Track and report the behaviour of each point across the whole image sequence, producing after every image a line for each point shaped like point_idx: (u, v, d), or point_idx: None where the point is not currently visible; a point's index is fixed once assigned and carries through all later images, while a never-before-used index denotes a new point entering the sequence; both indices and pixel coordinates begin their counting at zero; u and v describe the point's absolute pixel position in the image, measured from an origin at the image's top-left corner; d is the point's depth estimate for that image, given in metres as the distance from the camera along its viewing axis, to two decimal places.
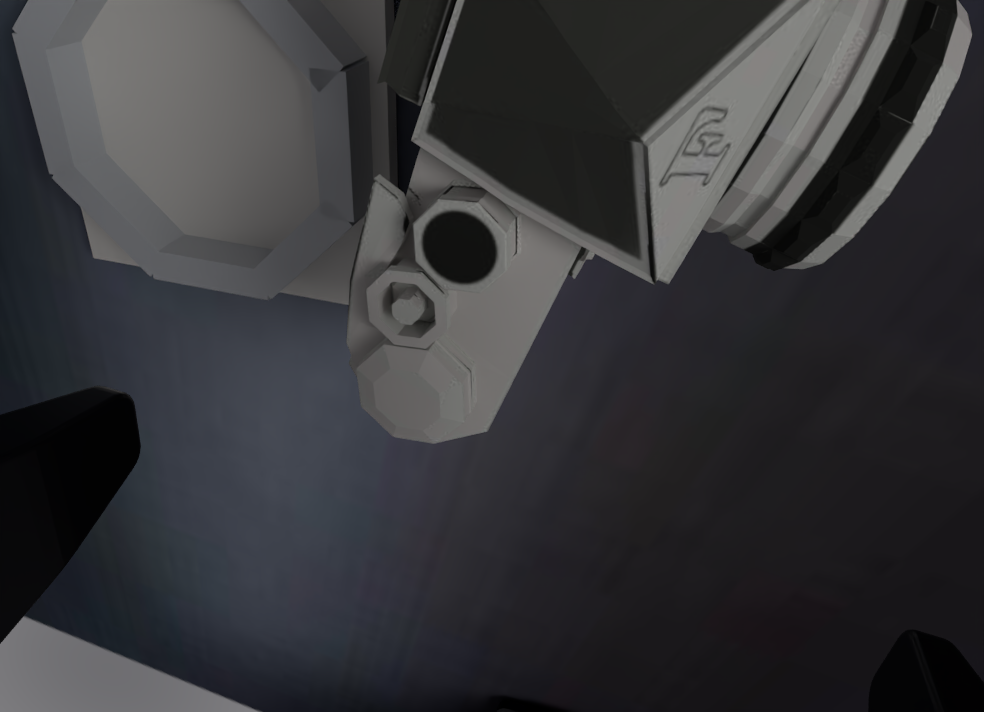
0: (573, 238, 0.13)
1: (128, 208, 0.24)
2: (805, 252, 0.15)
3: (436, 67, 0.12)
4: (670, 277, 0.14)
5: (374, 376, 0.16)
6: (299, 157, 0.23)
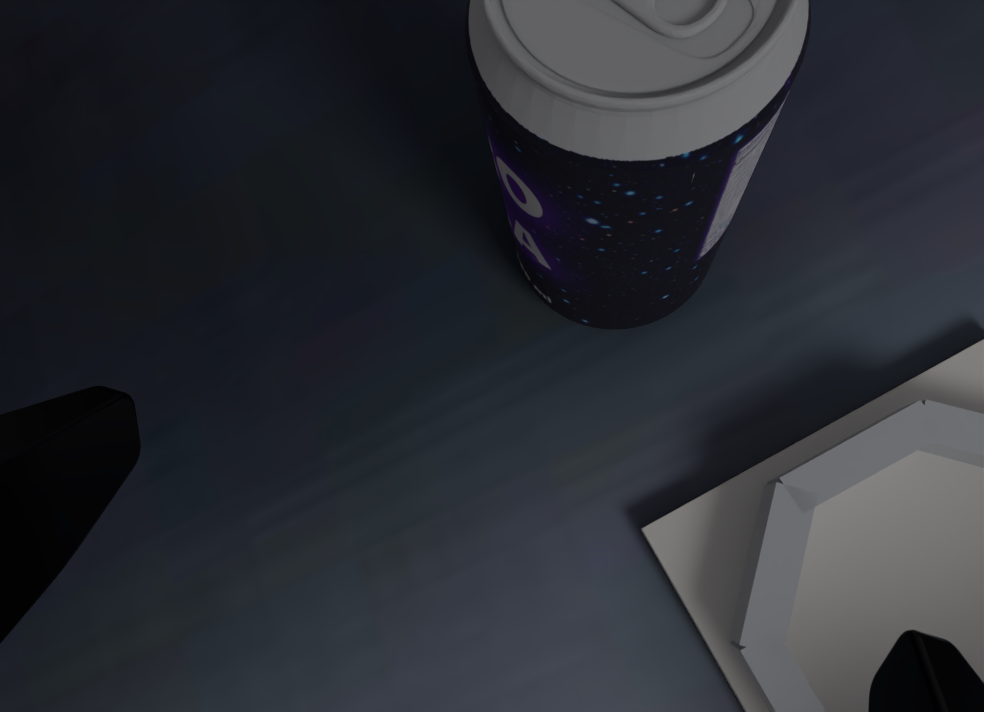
0: None
1: None
2: None
3: None
4: None
5: None
6: None
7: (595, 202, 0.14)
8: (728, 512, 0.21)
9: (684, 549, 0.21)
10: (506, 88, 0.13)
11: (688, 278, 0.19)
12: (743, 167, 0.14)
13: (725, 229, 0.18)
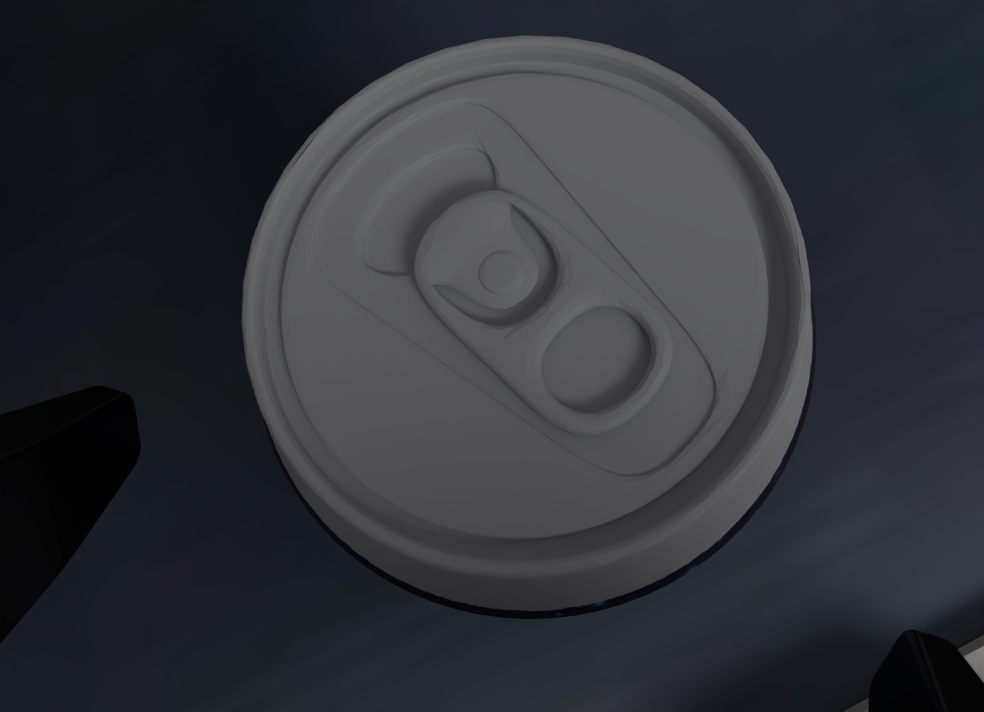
0: None
1: None
2: None
3: None
4: None
5: None
6: None
7: None
8: None
9: None
10: None
11: None
12: None
13: None
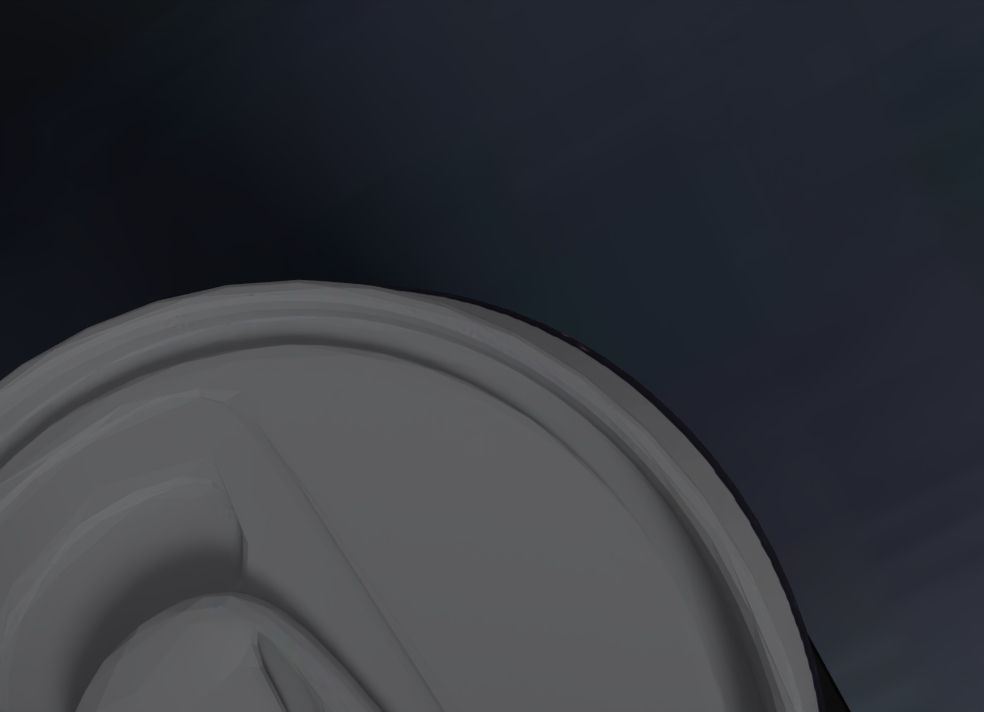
0: None
1: None
2: None
3: None
4: None
5: None
6: None
7: None
8: None
9: None
10: None
11: None
12: None
13: None
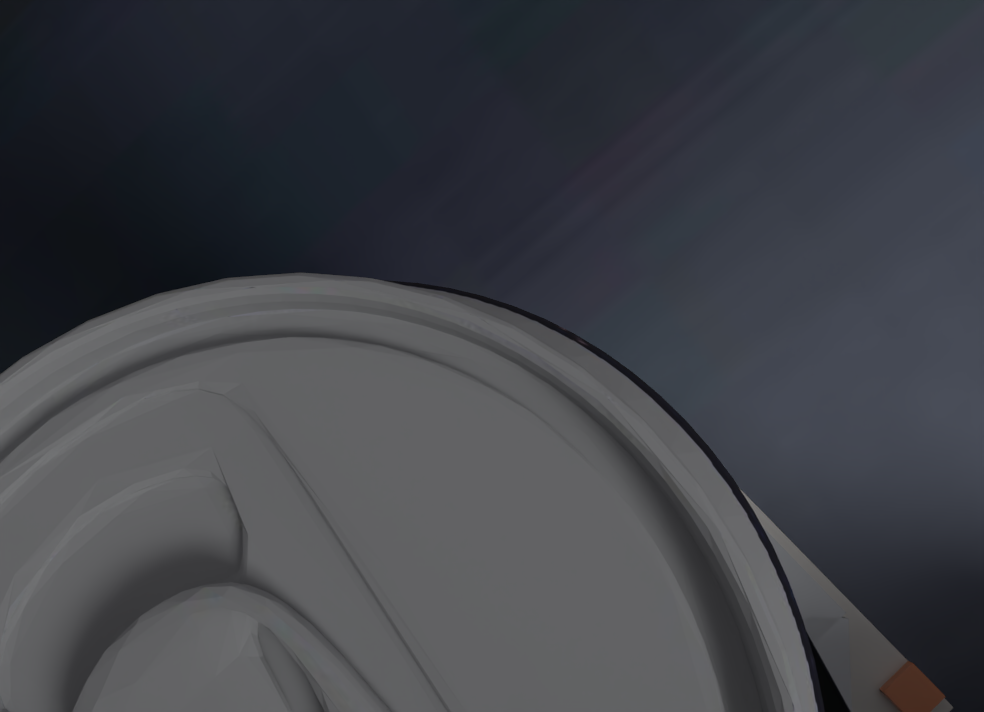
0: None
1: None
2: None
3: None
4: None
5: None
6: None
7: None
8: None
9: None
10: None
11: None
12: None
13: None
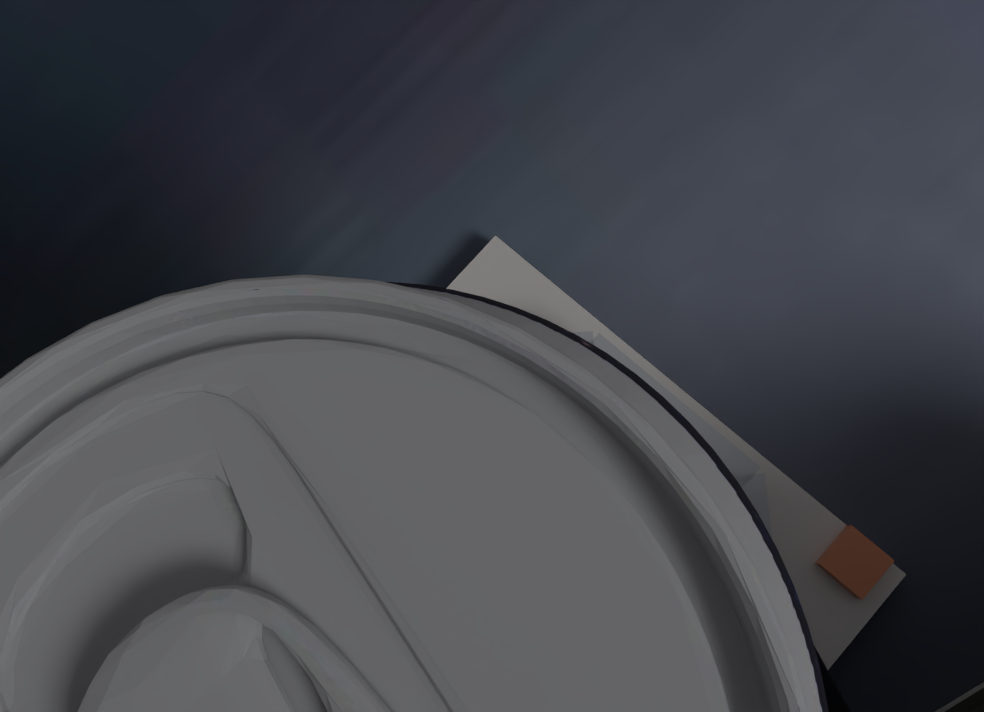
0: None
1: None
2: None
3: None
4: None
5: None
6: None
7: None
8: None
9: None
10: None
11: None
12: None
13: None
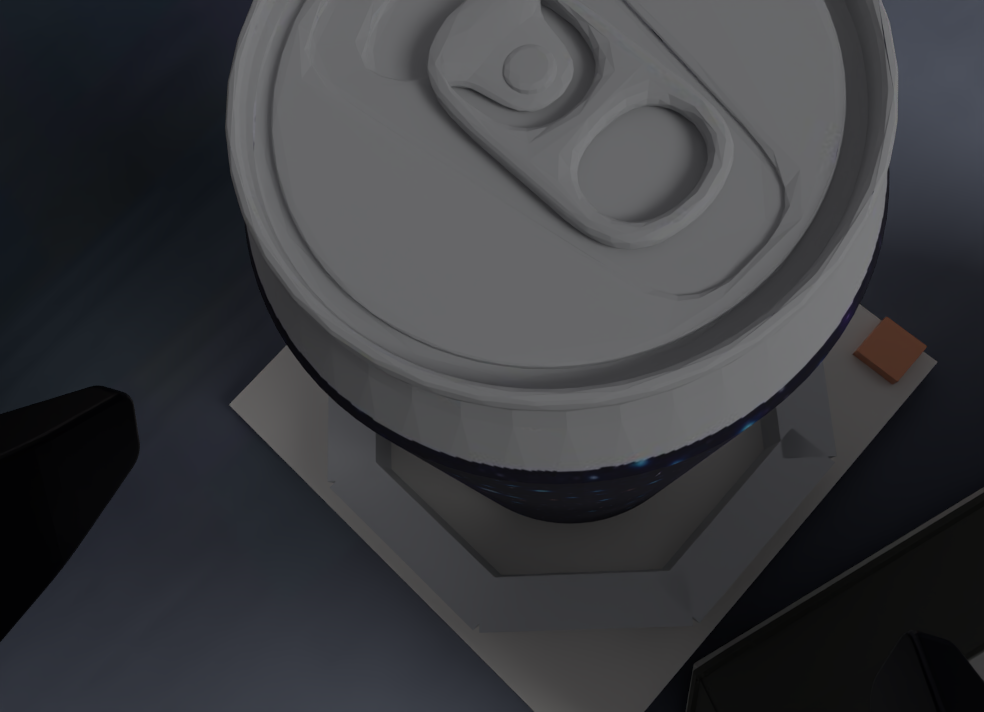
0: None
1: None
2: None
3: None
4: None
5: None
6: None
7: (484, 485, 0.08)
8: None
9: (279, 410, 0.18)
10: (290, 313, 0.06)
11: (664, 487, 0.13)
12: None
13: None
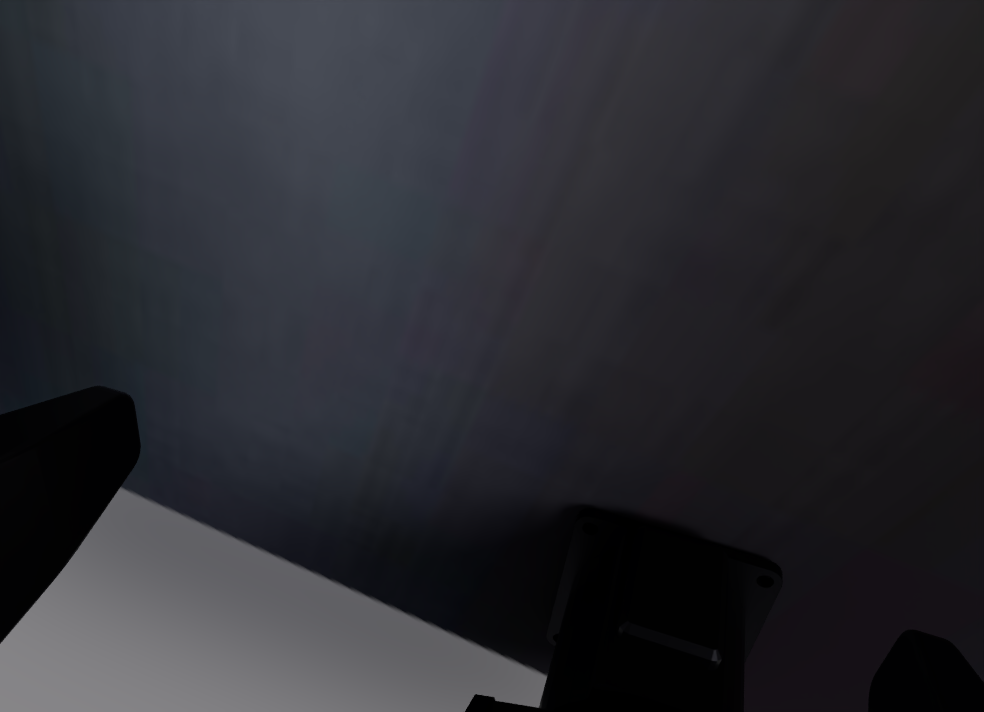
0: None
1: None
2: None
3: None
4: None
5: None
6: None
7: None
8: None
9: None
10: None
11: None
12: None
13: None
